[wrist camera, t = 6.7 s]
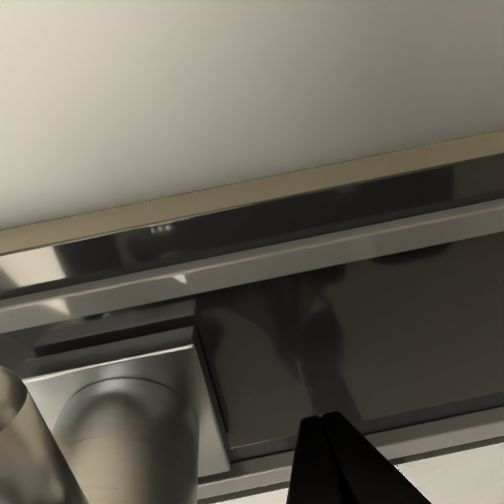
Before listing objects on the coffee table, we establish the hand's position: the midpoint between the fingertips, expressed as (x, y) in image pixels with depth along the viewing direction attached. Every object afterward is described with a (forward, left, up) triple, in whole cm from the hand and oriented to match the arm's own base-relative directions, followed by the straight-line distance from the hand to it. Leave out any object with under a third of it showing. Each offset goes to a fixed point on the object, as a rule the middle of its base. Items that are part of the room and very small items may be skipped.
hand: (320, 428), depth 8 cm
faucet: (+1, +4, -2) cm, 5 cm away
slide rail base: (0, -1, -4) cm, 4 cm away
